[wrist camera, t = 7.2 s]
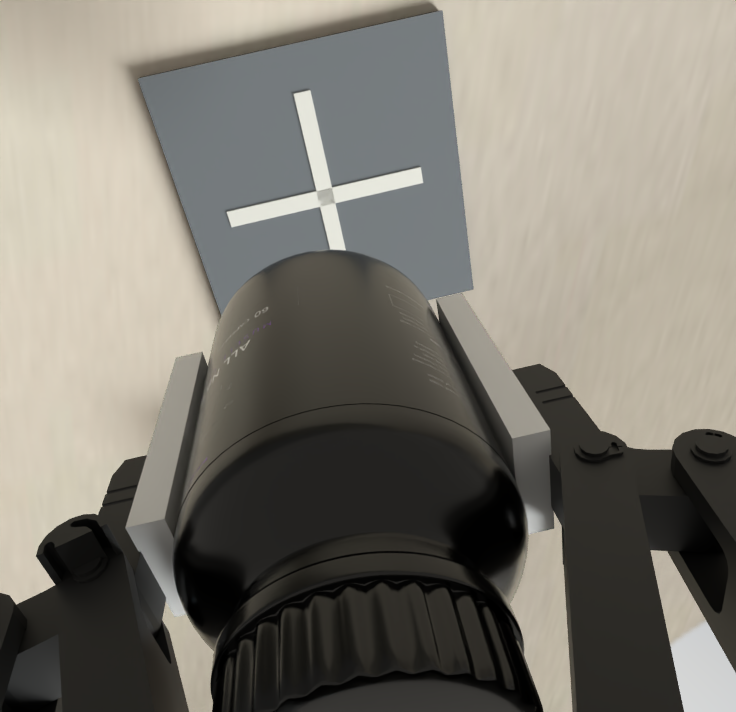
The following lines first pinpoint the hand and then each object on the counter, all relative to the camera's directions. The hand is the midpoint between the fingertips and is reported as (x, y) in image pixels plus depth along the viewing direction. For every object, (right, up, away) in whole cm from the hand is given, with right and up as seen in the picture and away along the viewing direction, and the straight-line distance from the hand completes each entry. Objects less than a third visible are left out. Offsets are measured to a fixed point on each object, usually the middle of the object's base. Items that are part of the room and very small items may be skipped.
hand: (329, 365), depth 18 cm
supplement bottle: (0, +1, +1) cm, 1 cm away
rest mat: (-1, +9, +13) cm, 16 cm away
